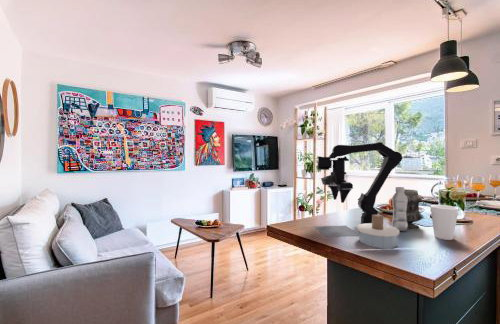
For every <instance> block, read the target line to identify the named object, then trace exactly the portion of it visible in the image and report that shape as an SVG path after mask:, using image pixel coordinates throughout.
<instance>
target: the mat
mask: <svg viewBox="0 0 500 324" xmlns="http://www.w3.org/2000/svg"><path fill="white" fill-rule="evenodd" d="M313 227H314V228H315V229H316V230H317V231H319V232H320V234H321V235H323V236H324V237H325V238H330V237H331V238H332V237H334V238H335V237H338V238H339V237H360V232H359V233H358V232H357V231H356V230H354V229H352V228H351V227H349V226H347V225H323V226H322V225H319V226H318V225H315V226H313Z"/></svg>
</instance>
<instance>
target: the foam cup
mask: <svg viewBox="0 0 500 324" xmlns="http://www.w3.org/2000/svg"><path fill="white" fill-rule="evenodd" d="M430 213H431V219H432V228H433V235H434V237H435V238H437V239H440V240H446V241H452V240H454V236H455V232H456V231H455V230H456V226H457V219H458V215H459V207H457V206H454V205H453V206H452V205H446V204H431V205H430Z"/></svg>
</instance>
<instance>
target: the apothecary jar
mask: <svg viewBox="0 0 500 324" xmlns="http://www.w3.org/2000/svg"><path fill="white" fill-rule="evenodd" d="M404 191H405V192H404V194H405V195H406V196H407V198H408V203H407V211H406V216H407V223H408V228H407V230H418V229H420V226H419V225H418V224H415V222H419V221H420V220H422V219H423V214H422V213H421V211H420V207H419V204H420V202H422V200H423V197H422V196H421V195H419V192H418V190H416V189H409V188H408V189H404Z"/></svg>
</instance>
